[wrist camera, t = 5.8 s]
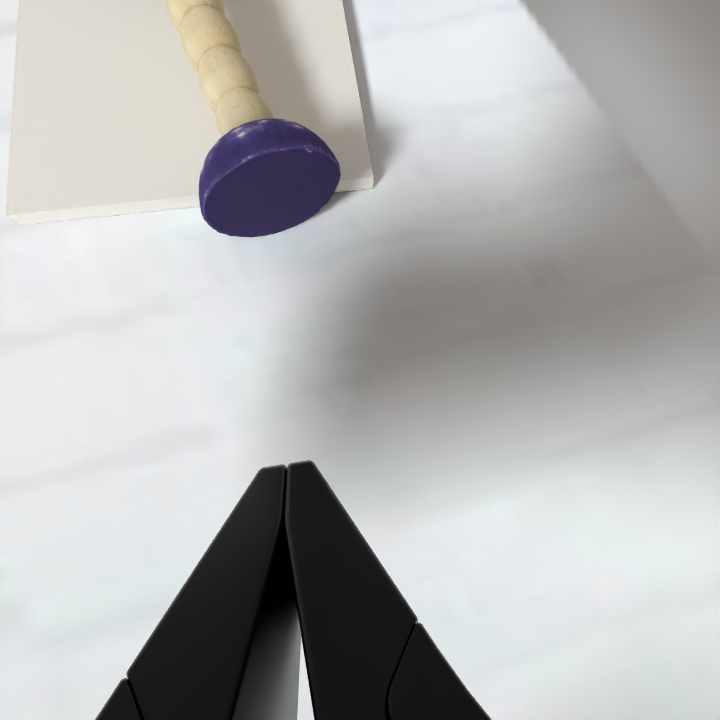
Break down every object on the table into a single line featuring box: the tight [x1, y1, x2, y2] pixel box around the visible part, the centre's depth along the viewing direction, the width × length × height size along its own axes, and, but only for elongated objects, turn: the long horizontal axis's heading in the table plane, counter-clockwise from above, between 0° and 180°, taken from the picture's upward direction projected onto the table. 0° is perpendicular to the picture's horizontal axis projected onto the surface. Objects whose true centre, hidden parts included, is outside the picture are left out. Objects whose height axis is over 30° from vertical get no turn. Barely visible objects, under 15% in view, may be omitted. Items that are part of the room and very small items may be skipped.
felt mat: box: [6, 0, 374, 225], centre depth 17 cm, size 16×12×1 cm
